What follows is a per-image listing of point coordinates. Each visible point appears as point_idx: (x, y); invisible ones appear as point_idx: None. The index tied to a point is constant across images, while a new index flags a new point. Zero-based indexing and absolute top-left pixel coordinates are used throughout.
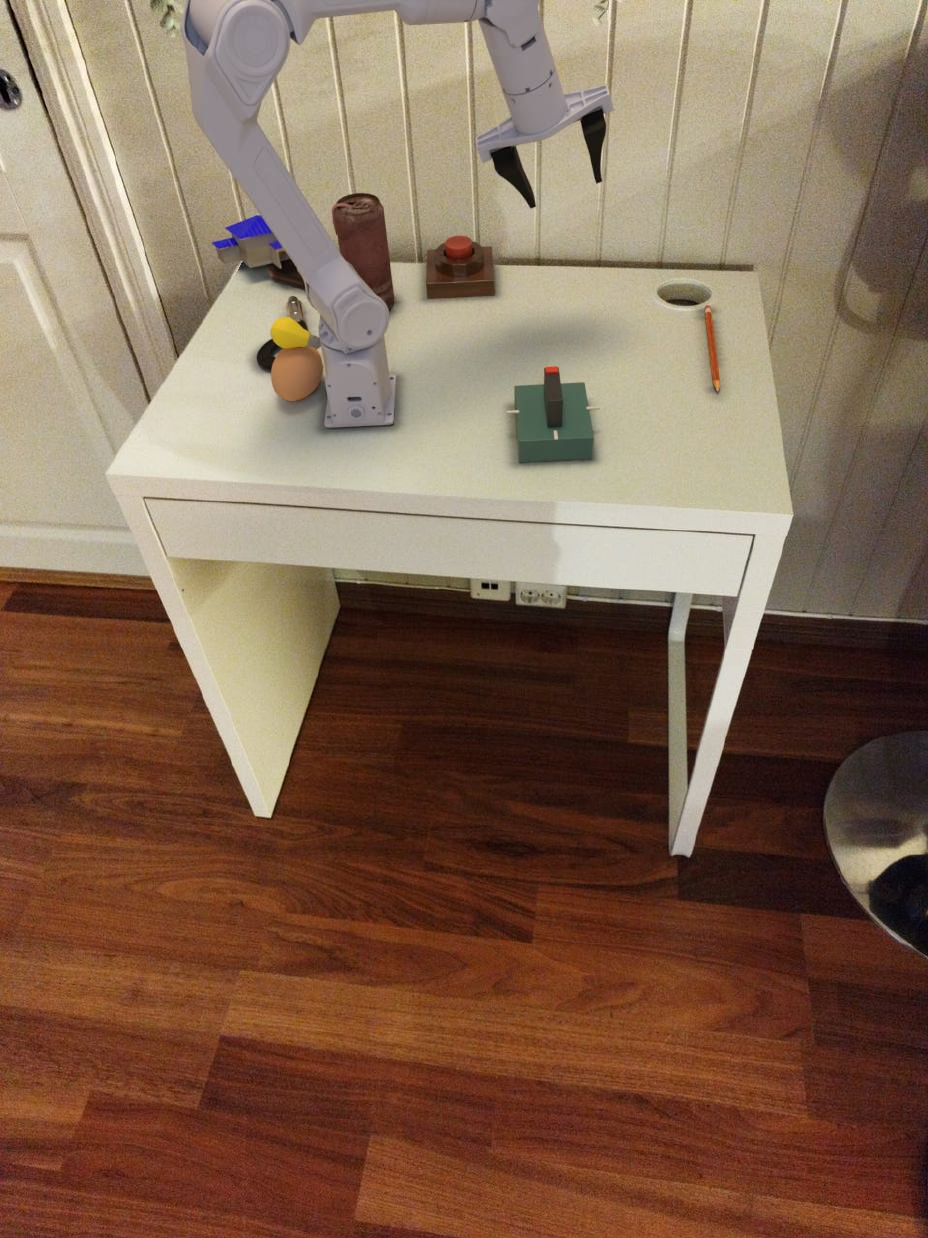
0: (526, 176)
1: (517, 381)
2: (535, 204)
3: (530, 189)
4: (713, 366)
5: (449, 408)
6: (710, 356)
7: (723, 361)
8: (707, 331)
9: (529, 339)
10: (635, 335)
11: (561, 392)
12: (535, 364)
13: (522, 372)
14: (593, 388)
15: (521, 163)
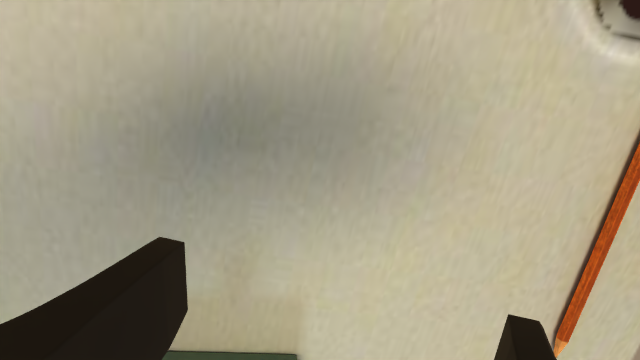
0: (121, 300)
1: None
2: (184, 309)
3: (151, 320)
4: (578, 300)
5: None
6: (589, 263)
7: (608, 262)
8: (626, 175)
9: (209, 121)
10: (468, 146)
11: None
12: (214, 221)
13: None
14: (326, 313)
15: (68, 337)
